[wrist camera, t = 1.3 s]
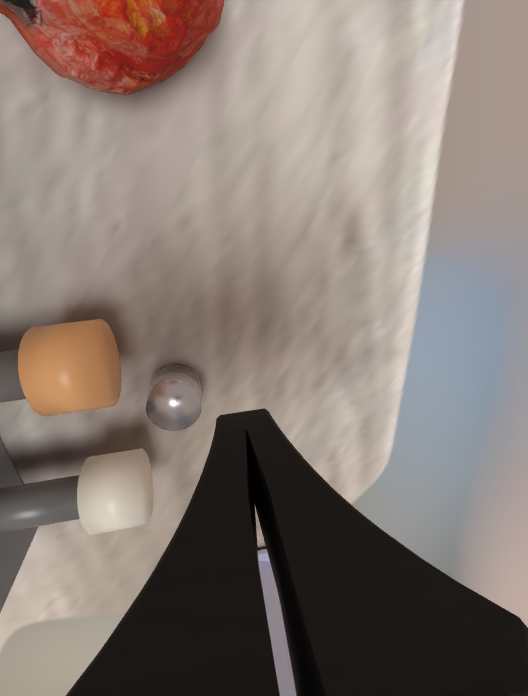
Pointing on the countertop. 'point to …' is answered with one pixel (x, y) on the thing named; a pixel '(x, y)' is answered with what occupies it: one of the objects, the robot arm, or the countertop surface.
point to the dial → (174, 397)
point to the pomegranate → (114, 37)
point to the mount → (11, 533)
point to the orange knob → (63, 368)
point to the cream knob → (86, 496)
